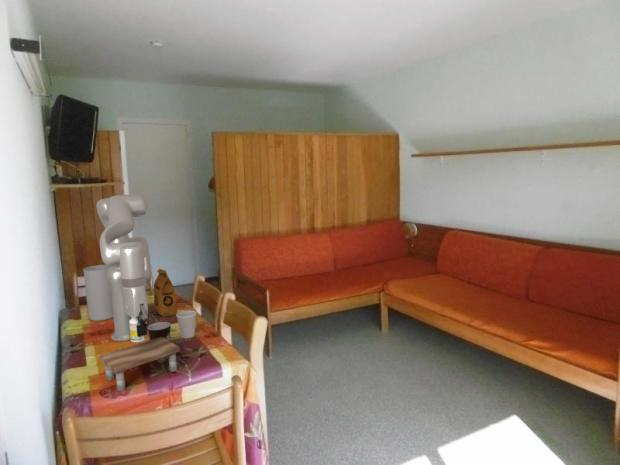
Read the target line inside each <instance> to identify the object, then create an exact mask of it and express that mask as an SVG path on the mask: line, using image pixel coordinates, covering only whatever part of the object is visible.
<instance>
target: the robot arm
mask: <svg viewBox="0 0 620 465" xmlns="http://www.w3.org/2000/svg"><path fill="white" fill-rule="evenodd" d="M147 211H148V204H147V199H146V198H145V197H144V196H143V195H142V194H140V193H139V194H138V193H137V194H136V193H135V194H117V195H113V196H110V197H105V198H102V199H99V200H97V202H96V212H97V215H98V218H99V219H100V221H101V223H102V225H103V227H104V230H103V231H102V233H101V235H100V238H99V250H100V256H101V260H102V263H104V264H103V265H108V266H112V267H110V268H109V269H108V271H107V279H108V283H109V286H110V291H111V298H112V307H113V324H114V332H113V333H112V334H111V335H110V337H111V340H113V341H115V342H125V341H131V337H130V325H129V321H130V320H131V319H132V318H131V317H133V318H136V320H137V325H136V327H137V336H138V337H140V336H144V335H147V336H148V325H147V323H148V322H147V320H148V316H149V315H148V314H149V305H148V296H147V291H146V286H147V284H148V283H149V282H151V280H152V276H153V274H152V273H153V272H152V266H151V263H152V262H151V255H150V247H149V244H148V243H149V242H148V241H147V239H146V238H145V237H141V236H137V237H135V236H134V237H130V236H129V234H131V233H132V231H133V230H134V229H135V225H136V222H135V218H137V217H143V216H145V215H146V214H147ZM139 314H142V315H140V316H138V315H139ZM140 317H142V318H141V319H140V320H139V318H140Z"/></svg>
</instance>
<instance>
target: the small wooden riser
mask: <svg viewBox="0 0 620 465" xmlns="http://www.w3.org/2000/svg"><path fill="white" fill-rule="evenodd" d="M180 348H181V347H180V346H179V345H177V344H175V343H174V342H172V341H171V340H170V341H168V340H167V339H165V338H163V337H159V338H156V339H153V340H150V339H149V340H145V341H142V342H139V343H137V344H134V345H130V346H128V347H125V348H121V349H118V350H115V351H111V352H108V353H105V354H101V355H99V360H100V362H102V363H103V364H104V369H105V371H104V372H105V378H106V381H110V382H111V381H113V380H114V379H115V381H116V382H115V384H116V391H117V392H123V391H125V390H126V382H125V371H127V370H129V369H132V368H135V367H138V366H141V365H143V364H144V365H145V364H147V363H150V362H154V361H155V360H157V363H158V364H159V363H160V364H162V363H164V362H165V357H167V356H168V363H169V364H168V367H169V372H171V373H172V372H176V371H177V370H178V364H177V353H178V352H180V351H181V349H180Z"/></svg>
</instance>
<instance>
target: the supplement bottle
mask: <svg viewBox="0 0 620 465" xmlns="http://www.w3.org/2000/svg"><path fill="white" fill-rule="evenodd" d="M140 315H142V314H139V315H138V316H140ZM131 318H132V319H131V320H130V321H129V325H130V337H131V340H130V341H131V342H132V343H143V342H146V341H147V339H148V334H147V335H144V336H140V337H138V336H137V327H136V325H137V320H136V318H133V317H131ZM141 318H142V317H140V318H139V320H140V319H141Z"/></svg>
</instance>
